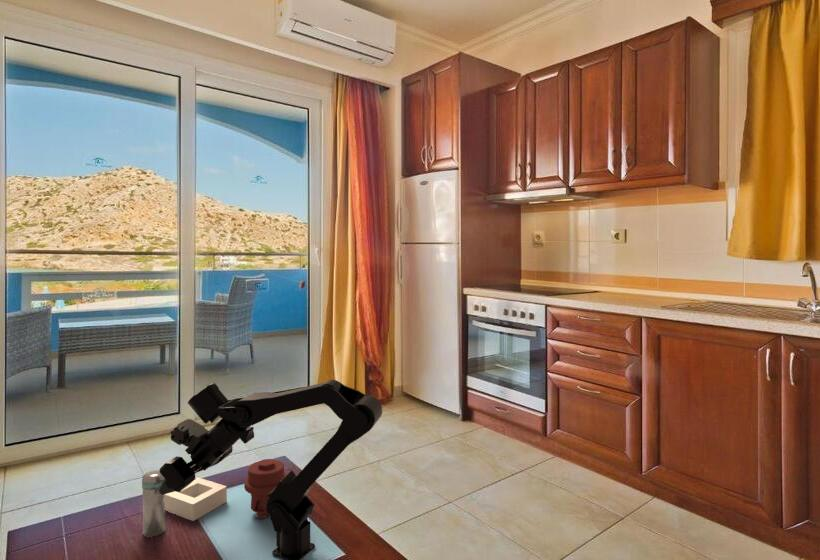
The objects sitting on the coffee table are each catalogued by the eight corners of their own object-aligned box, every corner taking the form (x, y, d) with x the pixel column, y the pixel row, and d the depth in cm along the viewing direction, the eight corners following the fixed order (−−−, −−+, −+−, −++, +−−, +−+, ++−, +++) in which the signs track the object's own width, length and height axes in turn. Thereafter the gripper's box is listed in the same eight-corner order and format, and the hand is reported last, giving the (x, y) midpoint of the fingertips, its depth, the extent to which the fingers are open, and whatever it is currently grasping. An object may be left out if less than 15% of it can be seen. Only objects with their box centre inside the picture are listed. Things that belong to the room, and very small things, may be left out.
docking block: (226, 501, 122) (226, 486, 121) (193, 521, 113) (193, 504, 112) (198, 492, 126) (198, 477, 126) (164, 510, 117) (164, 494, 117)
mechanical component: (294, 504, 121) (275, 525, 111) (257, 499, 123) (235, 520, 113) (294, 456, 121) (275, 473, 111) (257, 452, 123) (236, 468, 113)
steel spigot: (170, 529, 109) (169, 472, 109) (151, 539, 105) (151, 481, 104) (156, 523, 111) (156, 468, 111) (137, 534, 107) (137, 476, 106)
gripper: (221, 397, 114) (178, 439, 117) (168, 424, 96) (119, 473, 98) (251, 433, 113) (208, 474, 116) (204, 467, 95) (154, 516, 97)
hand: (174, 482), depth 107 cm, fingers open, 9 cm apart
